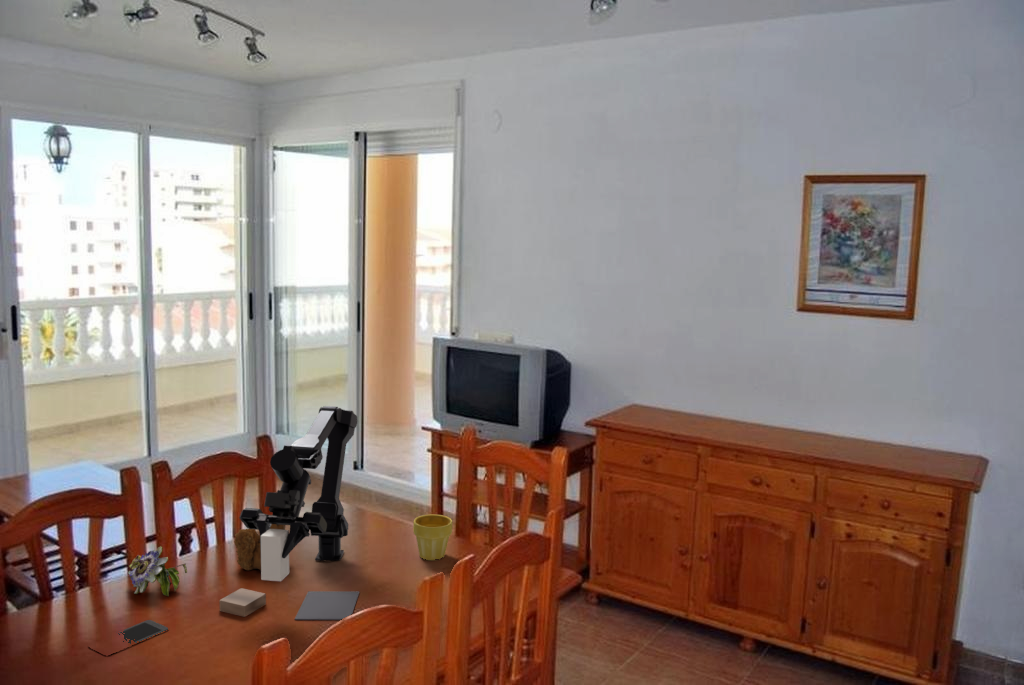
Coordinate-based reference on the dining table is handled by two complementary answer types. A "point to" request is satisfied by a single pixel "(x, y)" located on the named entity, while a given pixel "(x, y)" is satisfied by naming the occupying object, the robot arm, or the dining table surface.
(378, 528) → the dining table surface
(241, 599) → the grey square slab
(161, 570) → the passion flower
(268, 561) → the cream pillar
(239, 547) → the stuffed squirrel
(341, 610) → the charcoal mat
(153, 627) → the cell phone
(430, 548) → the plant pot
